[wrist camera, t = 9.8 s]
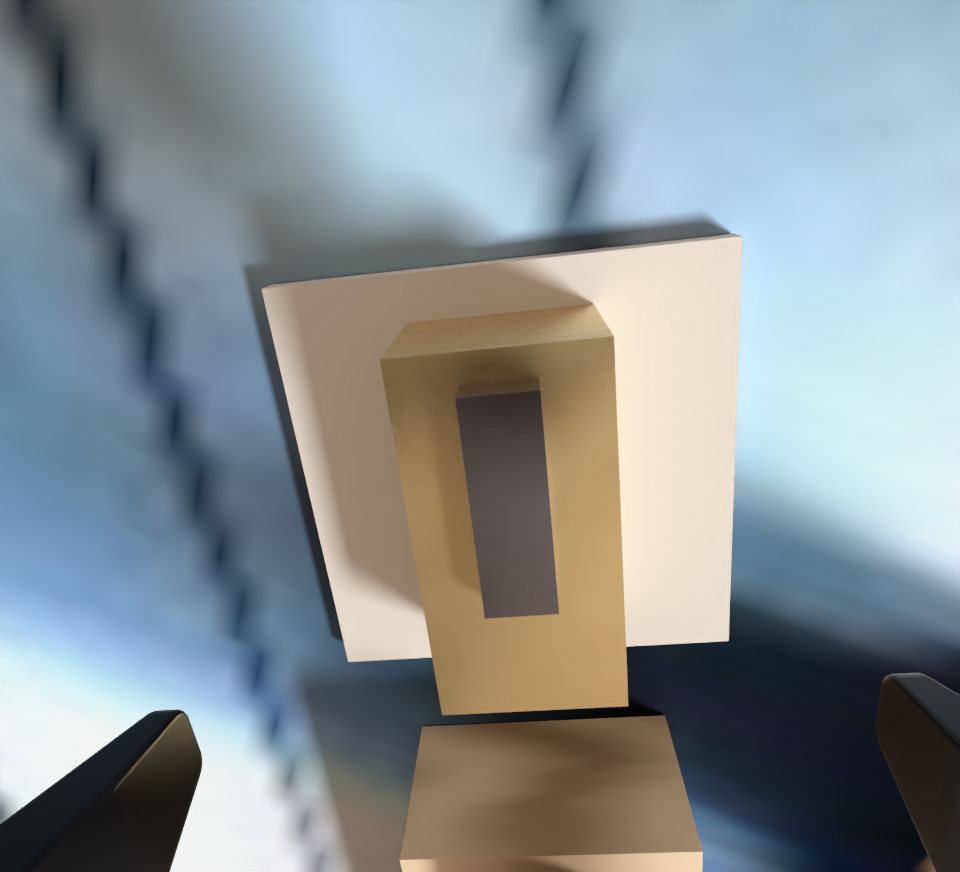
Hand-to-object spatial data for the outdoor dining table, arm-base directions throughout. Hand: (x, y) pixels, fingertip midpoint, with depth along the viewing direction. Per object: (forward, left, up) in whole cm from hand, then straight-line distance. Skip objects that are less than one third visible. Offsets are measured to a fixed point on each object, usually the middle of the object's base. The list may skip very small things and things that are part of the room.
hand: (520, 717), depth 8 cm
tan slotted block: (0, 0, -7) cm, 7 cm away
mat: (0, 0, -8) cm, 8 cm away
